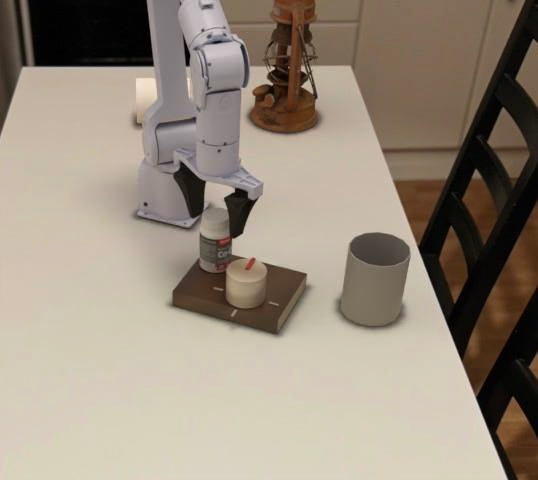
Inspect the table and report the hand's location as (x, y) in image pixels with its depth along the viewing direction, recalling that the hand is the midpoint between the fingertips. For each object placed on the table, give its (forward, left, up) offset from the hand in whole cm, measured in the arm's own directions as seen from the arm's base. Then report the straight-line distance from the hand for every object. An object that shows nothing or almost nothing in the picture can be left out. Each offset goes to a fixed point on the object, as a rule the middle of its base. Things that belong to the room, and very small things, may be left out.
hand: (216, 225), depth 129 cm
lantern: (-9, +53, -9) cm, 55 cm away
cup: (+23, +2, -9) cm, 25 cm away
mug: (-30, +44, -9) cm, 54 cm away
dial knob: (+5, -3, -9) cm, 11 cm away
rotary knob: (+7, -6, -7) cm, 11 cm away
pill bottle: (0, 0, -7) cm, 7 cm away
